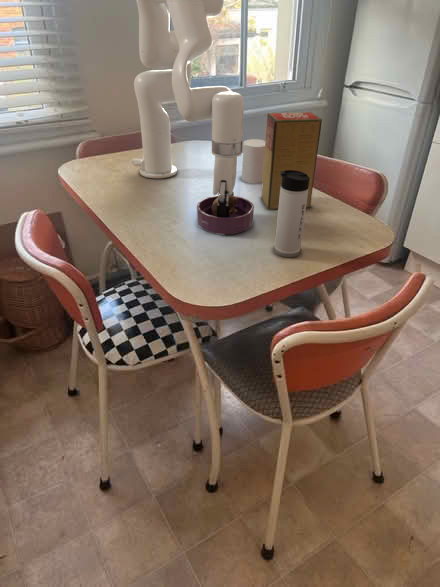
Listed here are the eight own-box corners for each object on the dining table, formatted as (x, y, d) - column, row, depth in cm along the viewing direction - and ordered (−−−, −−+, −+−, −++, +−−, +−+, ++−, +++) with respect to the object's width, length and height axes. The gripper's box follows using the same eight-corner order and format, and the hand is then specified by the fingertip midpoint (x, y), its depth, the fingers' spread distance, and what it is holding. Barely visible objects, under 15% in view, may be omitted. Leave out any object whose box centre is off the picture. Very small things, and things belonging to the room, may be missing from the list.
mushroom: (248, 204, 120) (236, 185, 118) (239, 220, 115) (226, 200, 112) (225, 213, 125) (213, 195, 122) (215, 229, 120) (202, 210, 117)
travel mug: (270, 245, 111) (278, 167, 100) (296, 245, 112) (306, 167, 100) (275, 258, 106) (283, 177, 95) (302, 257, 107) (313, 177, 95)
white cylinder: (265, 175, 152) (268, 139, 145) (265, 184, 146) (268, 147, 139) (242, 174, 153) (244, 138, 146) (240, 182, 146) (242, 146, 139)
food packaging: (301, 195, 138) (312, 111, 124) (311, 207, 130) (324, 119, 116) (260, 197, 136) (266, 112, 122) (267, 210, 129) (275, 120, 114)
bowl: (192, 233, 116) (192, 215, 113) (202, 209, 128) (202, 193, 125) (250, 238, 114) (251, 220, 111) (254, 213, 127) (256, 197, 124)
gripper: (217, 136, 117) (216, 198, 127) (205, 157, 103) (206, 225, 113) (245, 138, 116) (242, 200, 126) (238, 159, 102) (235, 227, 112)
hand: (225, 211), depth 119 cm, fingers closed on mushroom, 8 cm apart
